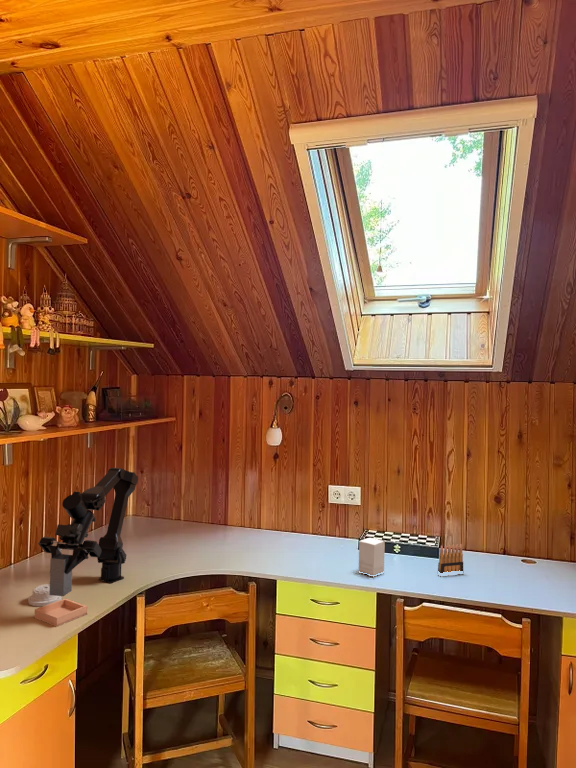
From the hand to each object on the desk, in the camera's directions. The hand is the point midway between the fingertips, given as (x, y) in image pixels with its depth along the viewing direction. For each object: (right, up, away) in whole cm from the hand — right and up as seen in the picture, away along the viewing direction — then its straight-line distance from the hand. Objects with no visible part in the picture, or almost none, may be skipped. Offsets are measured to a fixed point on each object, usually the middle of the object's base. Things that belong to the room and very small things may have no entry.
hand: (58, 572), depth 167 cm
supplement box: (+101, -17, +48) cm, 113 cm away
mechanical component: (-10, -14, +13) cm, 21 cm away
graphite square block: (0, -7, +1) cm, 7 cm away
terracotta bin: (0, -14, +1) cm, 14 cm away
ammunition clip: (+132, -18, +49) cm, 142 cm away
